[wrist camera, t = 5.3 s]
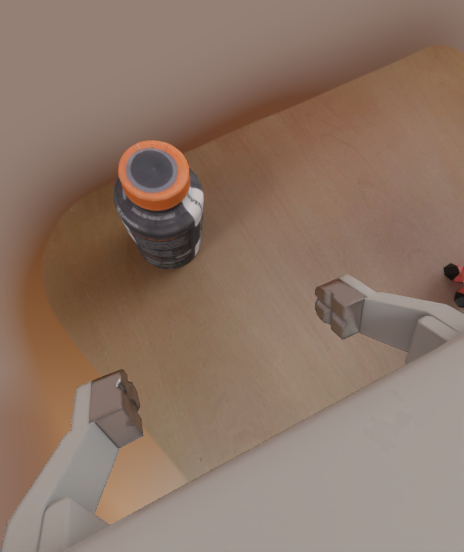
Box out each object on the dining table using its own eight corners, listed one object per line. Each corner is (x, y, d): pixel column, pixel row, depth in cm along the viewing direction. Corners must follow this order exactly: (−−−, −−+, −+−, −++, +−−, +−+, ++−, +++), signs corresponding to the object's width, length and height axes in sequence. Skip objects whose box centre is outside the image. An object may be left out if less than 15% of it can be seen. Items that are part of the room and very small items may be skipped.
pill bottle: (212, 233, 27) (226, 160, 16) (178, 282, 25) (168, 236, 14) (161, 201, 27) (141, 106, 16) (124, 248, 25) (73, 176, 14)
